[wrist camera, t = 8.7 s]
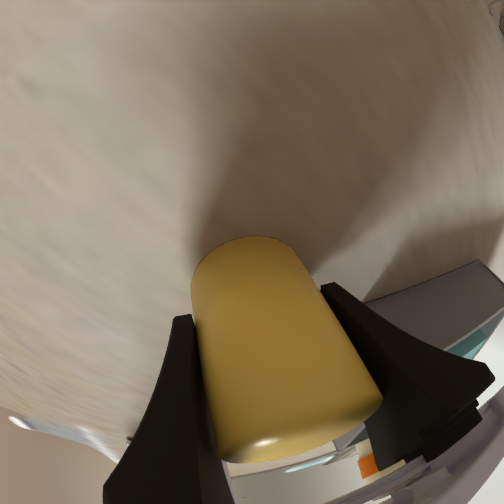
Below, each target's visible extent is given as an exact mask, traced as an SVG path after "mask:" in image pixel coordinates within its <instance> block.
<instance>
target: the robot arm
mask: <svg viewBox="0 0 504 504" xmlns="http://www.w3.org/2000/svg"><path fill="white" fill-rule="evenodd" d="M320 292H321V294H322V295H323V297H324V298H325V300H326V302H327V303H328V305H329V306H330V308H331V310H332V311H333V313H334V315H335V316H336V318H337V320H338V321H339V323H340V324H341V326H342V328H343V329H344V331H345V333H346V334H347V336H348V338H349V339H350V341H351V343H352V344H353V346H354V348H355V349H356V351H357V353H358V354H359V356H360V358H361V360H362V361H363V363H364V365H365V366H366V368H367V370H368V372H369V373H370V375H371V377H372V379H373V380H374V382H375V384H376V386H377V387H378V389H379V391H380V393H381V394H382V396H383V401H382V404H381V405H380V407H379V408H378V409H377V410H376V411H375V412H374V413H373V414H372V415H371V416H370V417H369V418H368V419H366V420H365V421H364V424H365V427H366V430H367V433H368V437H369V440H370V444H371V447H372V451H373V455H374V460H375V464H376V466H377V469H378V471H379V472H380V471H382V470H384V469H386V468H388V467H390V466H392V465H394V464H396V463H398V462H400V461H401V460H403V459H404V461H405V463H406V464H405V465H404V466H402V467H400V468H398V469H397V470H395V471H393V472H391V473H390V474H388V475H386V476H384V477H382V478H380V479H378V480H376V481H374V482H372V483H370V484H368V485H366V486H364V487H362V488H360V489H357V490H355V491H353V492H351V493H348V494H346V495H343V496H341V497H338V498H336V499H333V500H331V501H328V502H325V503H323V504H363V503H365V502H367V501H369V500H371V499H373V498H375V497H377V496H379V495H381V494H383V493H385V492H387V491H389V490H391V489H393V488H394V487H396V486H398V485H400V484H401V483H403V482H405V481H406V480H408V479H410V478H411V477H413V476H414V475H416V474H418V473H419V472H421V471H422V470H423V473H422V474H421V475H419V476H417V477H415V478H413V479H411V480H409V481H407V482H405V483H404V484H402V485H401V486H399V487H398V488H396V489H395V490H393V491H392V492H391V493H390V494H391V498H390V499H388V500H385V501H383V502H381V503H379V504H467V503H468V502H469V501H470V500H471V499H472V498H473V496H474V495H475V494H476V493H477V492H478V490H479V489H480V488H481V487H482V486H483V484H484V483H485V482H486V480H487V479H488V478H489V477H490V475H491V474H492V472H493V471H494V470H495V468H496V467H497V466H498V464H499V463H500V461H501V460H502V458H503V457H504V386H503V387H502V388H501V389H500V390H499V391H498V392H497V393H496V394H495V395H494V396H493V397H492V398H490V399H489V400H488V401H487V402H486V403H485V404H484V405H482V406H481V407H480V408H479V409H478V410H477V408H476V407H477V406H478V405H479V403H478V401H477V400H476V398H477V397H478V396H480V395H481V394H482V393H483V391H485V390H486V389H487V388H488V387H489V386H490V385H491V384H492V383H493V382H494V381H495V377H494V375H493V374H492V372H491V371H490V369H489V368H488V367H487V365H486V364H485V363H483V362H479V361H475V360H471V359H467V358H464V357H460V356H458V355H455V354H452V353H449V352H446V351H444V350H441V349H439V348H437V347H434V346H432V345H430V344H428V343H426V342H423V341H421V340H419V339H418V338H416V337H414V336H412V335H410V334H408V333H407V332H405V331H403V330H401V329H400V328H398V327H397V326H395V325H394V324H392V323H390V322H389V321H387V320H386V319H384V318H383V317H381V316H380V315H378V314H377V313H376V312H374V311H373V310H371V309H370V308H369V307H367V306H366V305H365V304H363V303H362V302H361V301H359V300H358V299H357V298H355V297H354V296H353V295H351V294H350V293H349V292H347V291H346V290H345V289H344V288H342V287H341V286H340V285H338V284H337V283H335V282H332V283H329V284H325V285H321V290H320ZM126 445H127V446H128V448H127V449H126V451H125V453H124V455H123V456H122V458H121V460H120V461H119V463H118V465H117V466H116V468H115V469H114V470H113V472H112V473H111V475H110V476H109V478H108V479H107V481H106V482H105V484H104V485H103V504H238V503H237V500H236V496H235V493H234V489H233V485H232V482H231V478H230V474H229V470H228V466H227V462H226V461H223V460H221V459H220V458H219V457H218V454H217V449H216V445H215V440H214V435H213V431H212V426H211V421H210V416H209V411H208V405H207V400H206V394H205V389H204V383H203V377H202V371H201V365H200V358H199V352H198V345H197V338H196V330H195V325H194V322H193V318H192V315H191V314H187V315H182V316H176V317H175V318H174V319H173V323H172V329H171V334H170V338H169V343H168V347H167V350H166V354H165V358H164V361H163V365H162V368H161V371H160V374H159V377H158V380H157V383H156V386H155V389H154V392H153V394H152V397H151V400H150V402H149V405H148V407H147V409H146V412H145V414H144V416H143V418H142V420H141V423H140V425H139V427H138V429H137V431H136V433H135V435H134V437H133V439H132V441H126Z"/></svg>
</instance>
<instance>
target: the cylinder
mask: <svg viewBox="0 0 504 504" xmlns="http://www.w3.org/2000/svg"><path fill="white" fill-rule="evenodd" d="M191 298H192V307H193V315H194V323H195V330H196V338H197V345H198V352H199V358H200V365H201V371H202V377H203V383H204V389H205V394H206V400H207V405H208V411H209V416H210V421H211V426H212V431H213V435H214V440H215V445H216V449H217V454H218V457H219V458H220V459H221V460H223V461H226V462H230V463H259V462H266V461H272V460H277V459H282V458H286V457H290V456H293V455H297V454H300V453H303V452H306V451H309V450H311V449H314V448H316V447H319V446H321V445H324V444H326V443H328V442H330V441H332V440H334V439H336V438H338V437H340V436H342V435H344V434H346V433H347V432H349V431H351V430H352V429H354V428H355V427H357V426H358V425H360V424H361V423H363V422H364V421H365V420H366V419H368V418H369V417H370V416H371V415H372V414H373V413H374V412H375V411H376V410H377V409H378V408H379V407H380V405H381V404H382V401H383V396H382V394H381V393H380V391H379V389H378V387H377V386H376V384H375V382H374V380H373V379H372V377H371V375H370V373H369V372H368V370H367V368H366V366H365V365H364V363H363V361H362V360H361V358H360V356H359V354H358V353H357V351H356V349H355V348H354V346H353V344H352V343H351V341H350V339H349V338H348V336H347V334H346V333H345V331H344V329H343V328H342V326H341V324H340V323H339V321H338V320H337V318H336V316H335V315H334V313H333V311H332V310H331V308H330V306H329V305H328V303H327V302H326V300H325V298H324V297H323V295H322V294H321V292H320V290H319V289H318V287H317V286H316V284H315V283H314V281H313V279H312V278H311V276H310V275H309V273H308V272H307V270H306V268H305V267H304V265H303V264H302V262H301V261H300V259H299V258H298V256H297V254H296V253H295V252H294V251H293V250H292V248H290V247H289V246H288V245H287V244H285V243H283V242H281V241H279V240H276V239H273V238H269V237H263V236H250V237H243V238H239V239H235V240H232V241H229V242H227V243H225V244H223V245H221V246H219V247H217V248H216V249H214V250H213V251H212V252H210V253H209V254H208V255H207V256H206V257H205V258H204V259H203V260H202V261H201V262H200V264H199V265H198V267H197V268H196V270H195V272H194V274H193V277H192V281H191Z"/></svg>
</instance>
